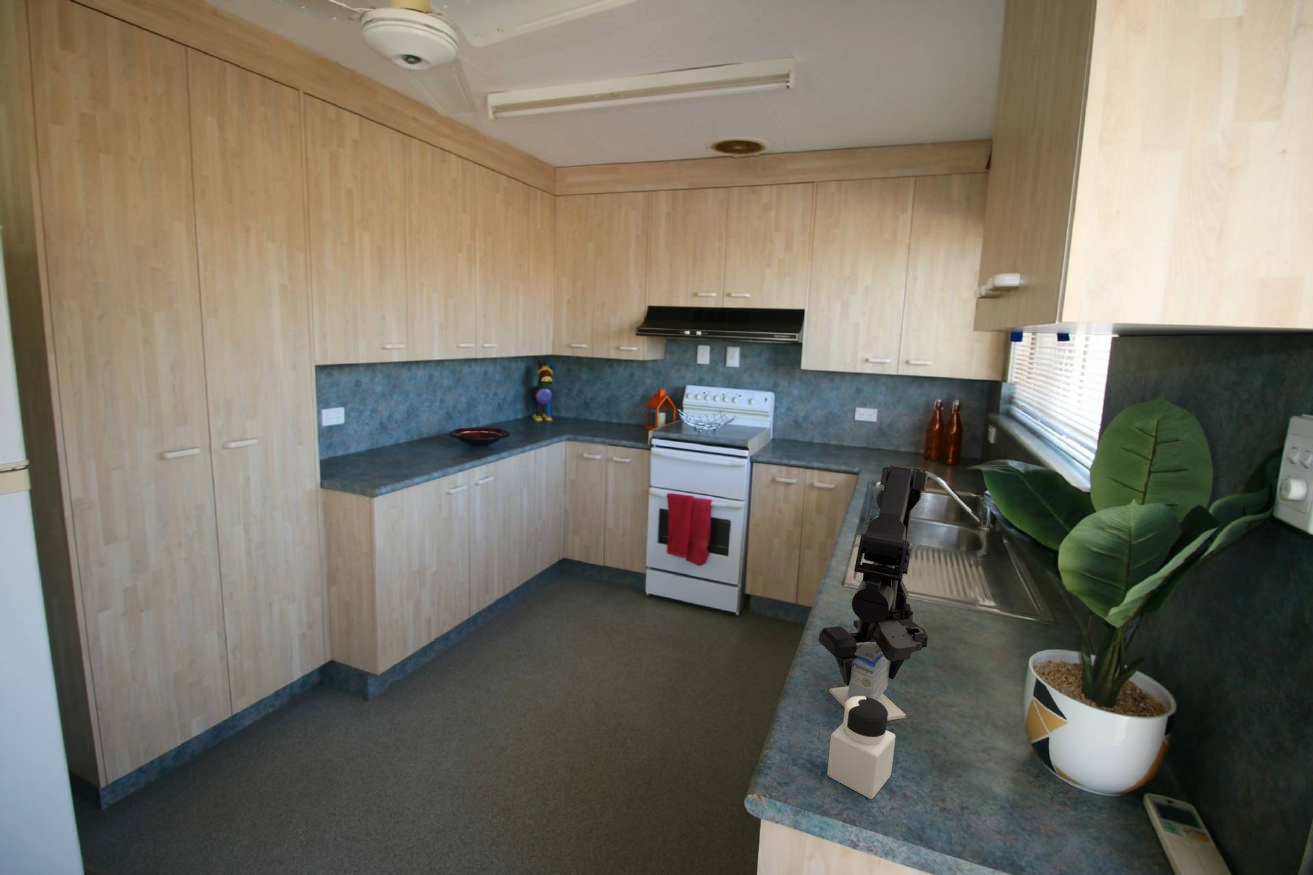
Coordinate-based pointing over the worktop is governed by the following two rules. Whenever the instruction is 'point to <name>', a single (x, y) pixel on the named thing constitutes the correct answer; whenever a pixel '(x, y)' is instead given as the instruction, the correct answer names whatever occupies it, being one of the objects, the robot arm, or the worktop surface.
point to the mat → (892, 709)
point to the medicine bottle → (862, 747)
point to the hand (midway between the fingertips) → (868, 681)
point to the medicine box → (869, 672)
